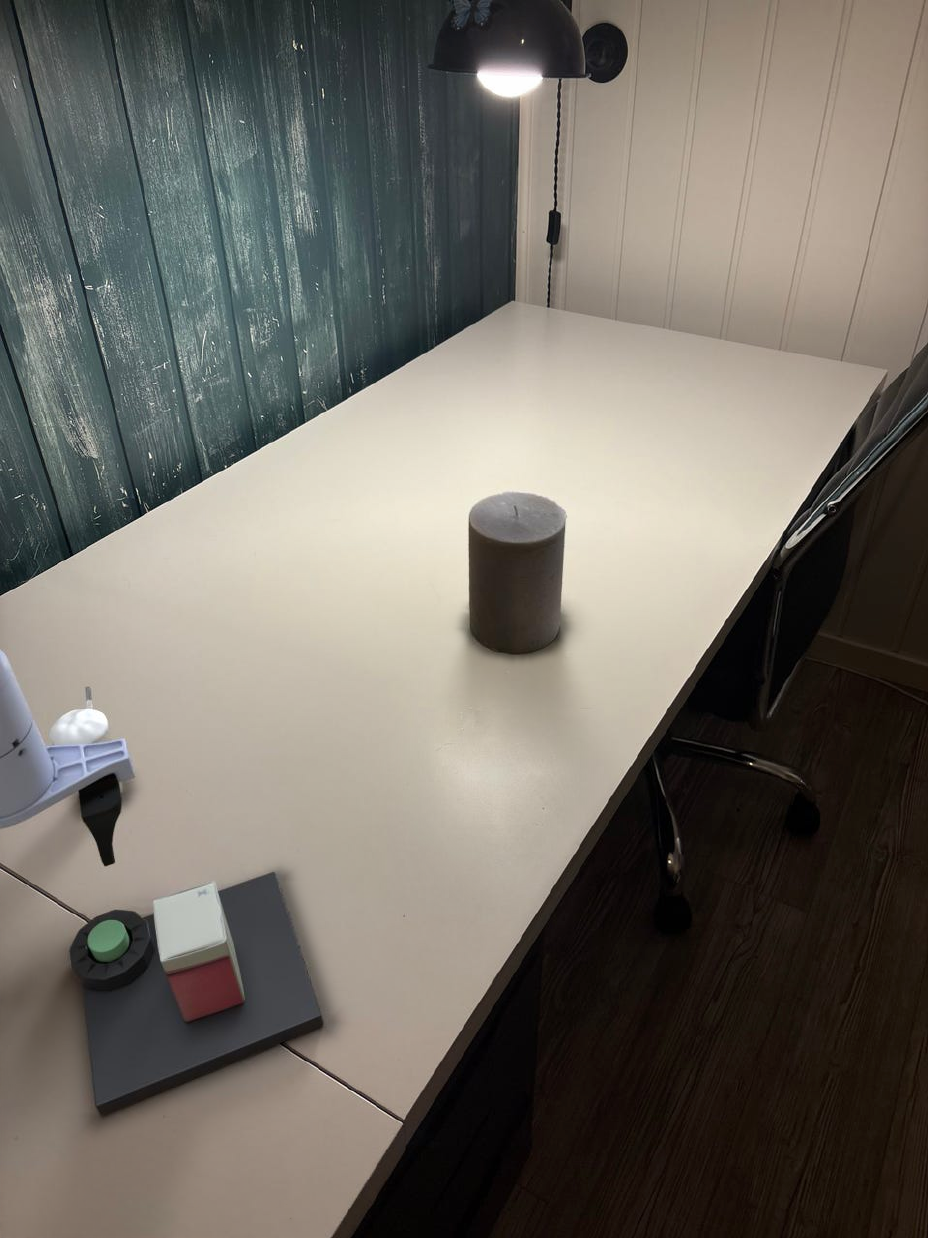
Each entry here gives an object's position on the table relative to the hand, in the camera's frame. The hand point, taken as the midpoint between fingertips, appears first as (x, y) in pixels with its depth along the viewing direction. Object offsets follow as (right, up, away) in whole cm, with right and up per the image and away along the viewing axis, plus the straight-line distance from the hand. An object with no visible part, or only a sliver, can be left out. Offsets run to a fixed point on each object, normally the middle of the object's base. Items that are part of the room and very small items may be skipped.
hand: (50, 873), depth 62 cm
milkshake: (-3, +2, +19) cm, 19 cm away
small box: (+10, -9, +3) cm, 14 cm away
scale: (+9, -9, +4) cm, 14 cm away
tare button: (+3, -6, +4) cm, 8 cm away
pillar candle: (+34, +17, +36) cm, 52 cm away
